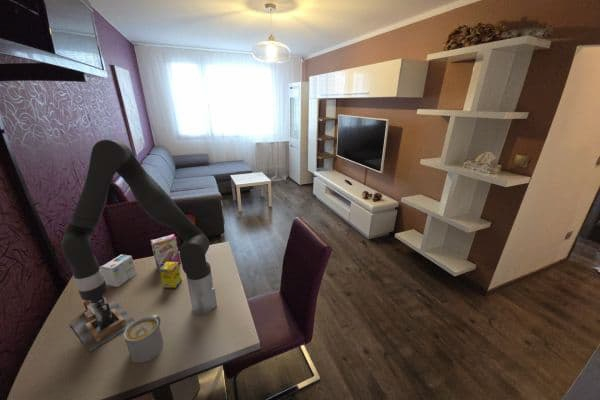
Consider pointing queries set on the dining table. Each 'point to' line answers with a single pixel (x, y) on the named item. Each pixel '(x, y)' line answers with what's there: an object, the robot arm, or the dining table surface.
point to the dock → (91, 331)
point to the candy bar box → (165, 250)
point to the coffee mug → (144, 338)
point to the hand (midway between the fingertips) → (104, 319)
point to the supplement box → (170, 275)
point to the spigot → (102, 321)
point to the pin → (88, 307)
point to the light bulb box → (119, 270)
